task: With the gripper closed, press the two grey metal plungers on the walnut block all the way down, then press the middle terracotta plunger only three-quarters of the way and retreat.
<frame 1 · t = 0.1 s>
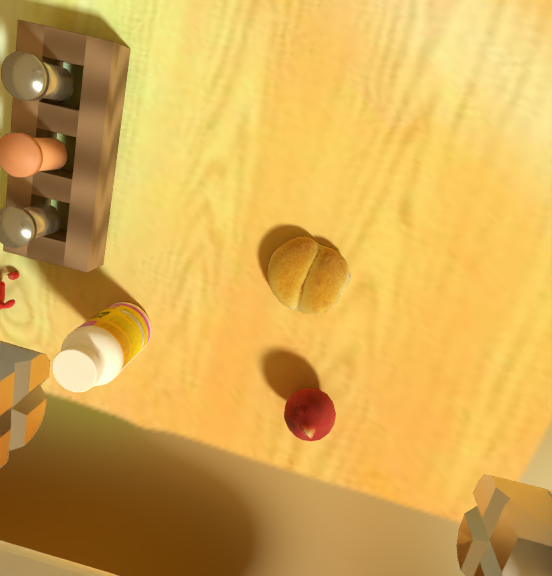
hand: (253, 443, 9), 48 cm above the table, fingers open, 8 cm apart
bread roll: (309, 273, 58), on the table
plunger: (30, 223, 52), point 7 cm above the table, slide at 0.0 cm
walnut block: (73, 153, 57), on the table
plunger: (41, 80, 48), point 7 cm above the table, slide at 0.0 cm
supplement bottle: (128, 325, 63), on the table
plunger mid: (35, 154, 50), point 7 cm above the table, slide at 0.0 cm
onion: (311, 397, 62), on the table
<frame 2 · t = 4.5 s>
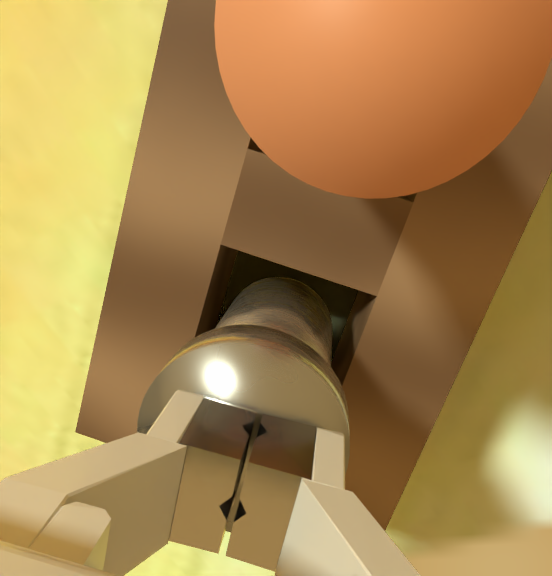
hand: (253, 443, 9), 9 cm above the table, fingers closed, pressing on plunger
walnut block: (355, 99, 16), on the table
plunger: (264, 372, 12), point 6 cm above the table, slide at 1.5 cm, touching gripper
plunger mid: (367, 65, 9), point 7 cm above the table, slide at 0.0 cm
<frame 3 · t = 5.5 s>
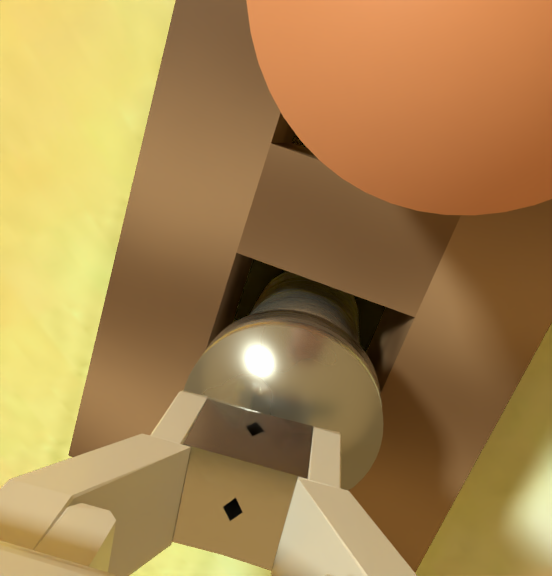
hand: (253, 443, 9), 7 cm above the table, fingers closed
walnut block: (391, 90, 14), on the table
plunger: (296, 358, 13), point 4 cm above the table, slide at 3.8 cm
plunger mid: (429, 41, 7), point 7 cm above the table, slide at 0.0 cm
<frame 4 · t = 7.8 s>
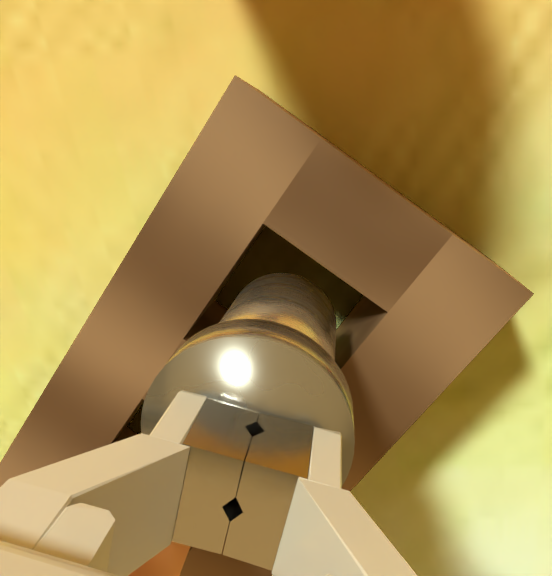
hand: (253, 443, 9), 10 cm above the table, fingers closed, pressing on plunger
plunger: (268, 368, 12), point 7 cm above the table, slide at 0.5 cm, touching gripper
walnut block: (196, 419, 21), on the table
plunger mid: (123, 559, 14), point 7 cm above the table, slide at 0.0 cm
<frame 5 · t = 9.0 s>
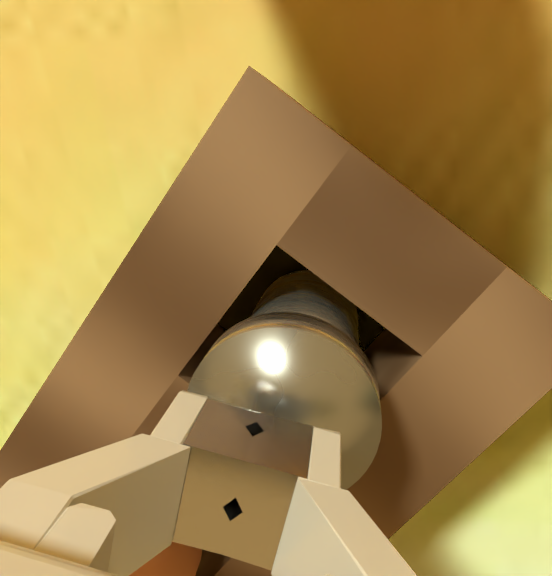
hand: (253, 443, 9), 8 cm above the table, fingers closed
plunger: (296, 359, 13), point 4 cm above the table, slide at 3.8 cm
walnut block: (192, 454, 19), on the table
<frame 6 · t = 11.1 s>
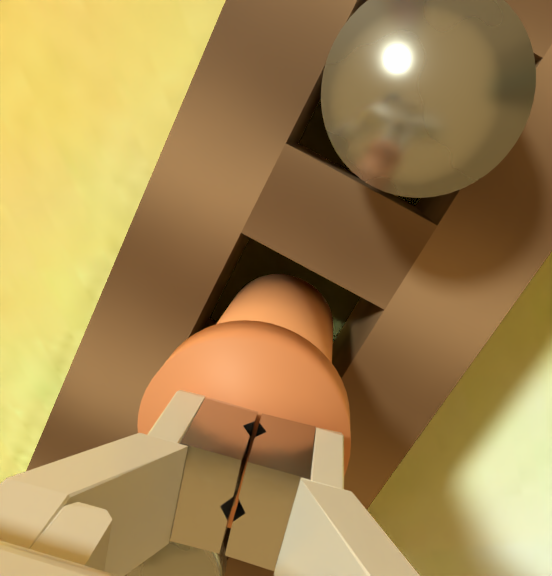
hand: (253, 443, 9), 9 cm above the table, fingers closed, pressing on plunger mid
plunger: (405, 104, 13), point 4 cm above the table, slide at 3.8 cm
walnut block: (289, 296, 18), on the table
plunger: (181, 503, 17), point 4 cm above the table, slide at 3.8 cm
plunger mid: (265, 369, 12), point 6 cm above the table, slide at 1.3 cm, touching gripper
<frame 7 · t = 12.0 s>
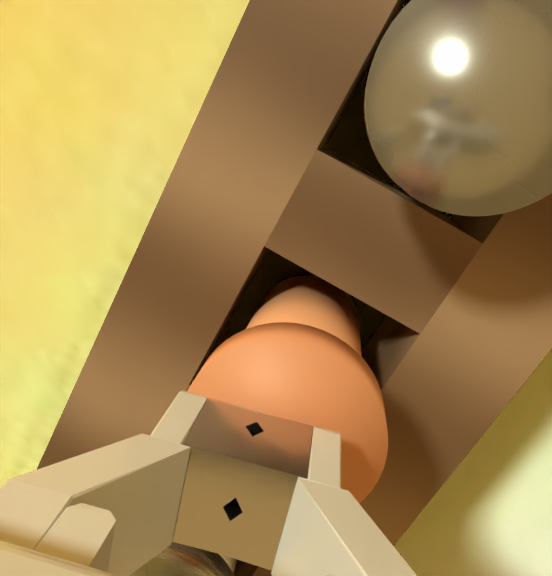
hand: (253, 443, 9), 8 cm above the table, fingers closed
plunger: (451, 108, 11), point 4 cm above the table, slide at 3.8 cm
walnut block: (310, 311, 17), on the table
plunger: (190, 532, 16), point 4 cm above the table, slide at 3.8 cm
plunger mid: (296, 369, 13), point 5 cm above the table, slide at 2.8 cm
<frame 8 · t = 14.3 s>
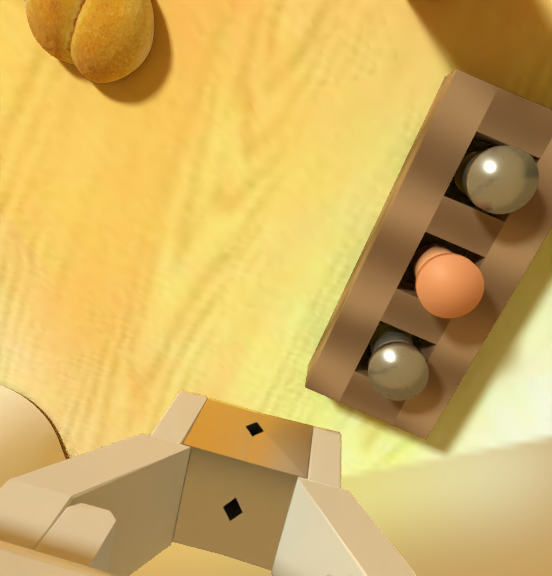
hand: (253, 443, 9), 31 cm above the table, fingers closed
bread roll: (99, 19, 38), on the table
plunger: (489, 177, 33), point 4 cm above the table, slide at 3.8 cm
walnut block: (430, 260, 39), on the table
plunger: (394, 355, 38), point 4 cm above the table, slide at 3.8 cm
plunger mid: (441, 275, 35), point 5 cm above the table, slide at 2.8 cm
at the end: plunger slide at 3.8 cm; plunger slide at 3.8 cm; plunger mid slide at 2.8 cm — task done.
